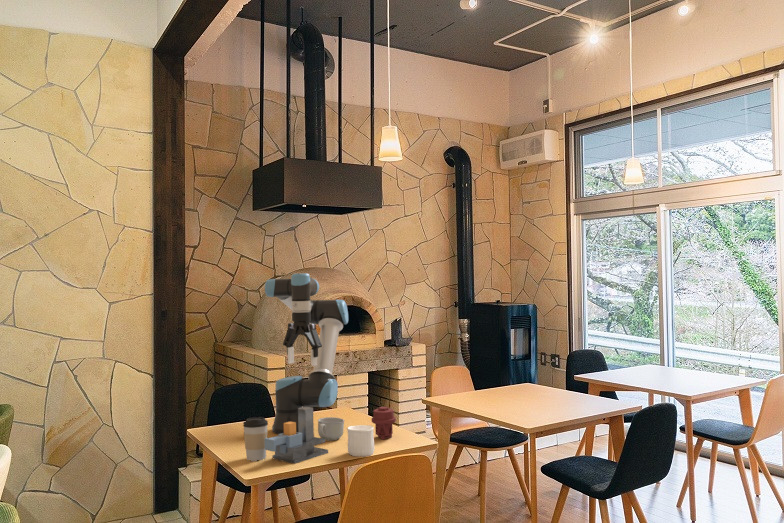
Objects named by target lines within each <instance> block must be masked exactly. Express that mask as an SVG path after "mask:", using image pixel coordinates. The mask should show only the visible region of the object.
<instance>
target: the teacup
mask: <svg viewBox="0 0 784 523" xmlns="http://www.w3.org/2000/svg"><path fill="white" fill-rule="evenodd" d="M344 425H345V419H344V418H340V417H336V416H335V417H334V416H330V417H328V416H327V417H322V418H318V419H317V432H318V436H319V438H322V439H325V441H331V442H332V441H337V440H339V439H340V438H341V437H342V436H343V435H344V428H345V426H344Z"/></svg>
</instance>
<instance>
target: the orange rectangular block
mask: <svg viewBox="0 0 784 523" xmlns="http://www.w3.org/2000/svg"><path fill="white" fill-rule="evenodd" d="M295 434H296V422H286V423H284V435H287V436H291V435H295Z"/></svg>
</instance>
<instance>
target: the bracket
mask: <svg viewBox="0 0 784 523" xmlns="http://www.w3.org/2000/svg"><path fill="white" fill-rule="evenodd" d="M301 444H302V433H299V432H296V434H295V435H291V436H287V435H284V433H281V434H277V435H276V436H272V437H267V438H265V450H266V451H269V452H272V453H273V452H274V453H275V451H276V446H277V445H279V446H280V453H284V454H285V453H286V447H289V448H291V447H294V446H297V445H301Z"/></svg>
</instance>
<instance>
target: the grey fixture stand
mask: <svg viewBox="0 0 784 523" xmlns="http://www.w3.org/2000/svg"><path fill="white" fill-rule="evenodd" d="M314 424H315V422H314V407H304V406H303V407H302V408H298V428H299V433H302V444H301V445H297V446H294V447H291V448H289V447H286V453H285V454H284V453H280V446H279V445H277V446H276V451H275V452H274V454H272V459H273V458H274V460H278V461H281V462H285V463H290V464H294V465H296V464H299V463H301V462H304V461H308V460H310V459H314V458H317V457H321V456H323V455H326V454H329V449H326V448H321V447H317V445H320V444H324V443H326V440H325V439H322V438H321V437H316V436H315V433H314V430H315V429H314V426H315V425H314Z"/></svg>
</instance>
